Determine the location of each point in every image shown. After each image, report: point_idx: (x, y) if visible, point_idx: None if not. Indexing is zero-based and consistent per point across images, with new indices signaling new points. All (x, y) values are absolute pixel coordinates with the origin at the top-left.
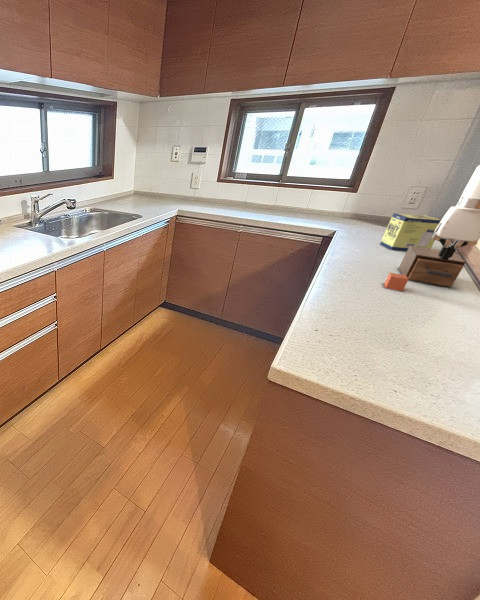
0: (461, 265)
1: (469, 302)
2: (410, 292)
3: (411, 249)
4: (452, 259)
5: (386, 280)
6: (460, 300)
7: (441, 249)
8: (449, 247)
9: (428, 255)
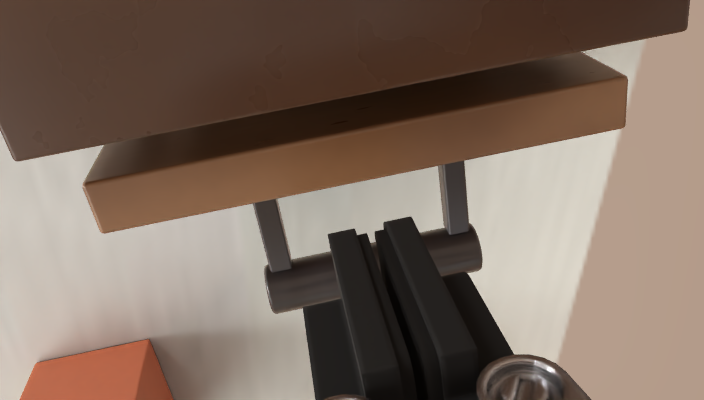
0: (604, 124)
1: (557, 290)
2: (228, 394)
3: None
4: (529, 6)
5: None
6: (511, 295)
7: (316, 394)
8: (438, 388)
9: (178, 32)
